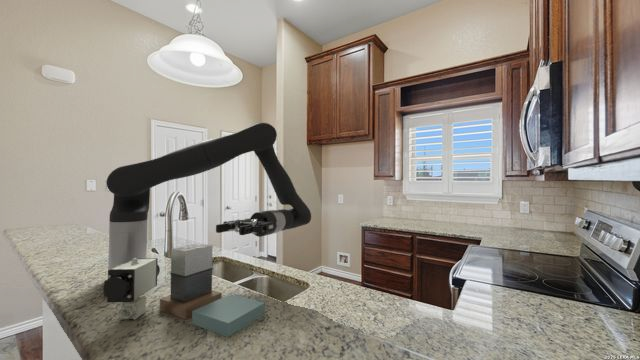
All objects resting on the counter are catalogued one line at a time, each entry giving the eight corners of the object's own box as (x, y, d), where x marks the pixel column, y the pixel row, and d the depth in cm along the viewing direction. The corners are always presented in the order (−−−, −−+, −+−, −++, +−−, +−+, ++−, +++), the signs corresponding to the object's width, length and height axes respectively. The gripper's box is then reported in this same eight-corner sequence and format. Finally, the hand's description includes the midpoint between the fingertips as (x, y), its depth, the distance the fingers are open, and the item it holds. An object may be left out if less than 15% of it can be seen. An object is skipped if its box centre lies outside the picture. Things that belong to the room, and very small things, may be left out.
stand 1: (159, 310, 59) (160, 298, 60) (195, 296, 67) (196, 286, 67) (186, 319, 55) (186, 307, 55) (221, 303, 63) (221, 292, 63)
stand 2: (191, 323, 54) (192, 311, 54) (230, 304, 62) (230, 293, 62) (228, 337, 49) (228, 323, 49) (264, 314, 58) (264, 302, 58)
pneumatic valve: (160, 304, 63) (161, 252, 63) (126, 330, 51) (128, 266, 51) (135, 304, 62) (136, 252, 63) (95, 331, 51) (97, 266, 51)
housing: (169, 299, 59) (170, 248, 60) (198, 288, 66) (199, 243, 66) (184, 303, 57) (185, 251, 57) (212, 292, 63) (213, 245, 64)
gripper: (250, 209, 89) (209, 214, 74) (286, 211, 82) (248, 216, 67) (251, 232, 88) (209, 242, 74) (286, 236, 82) (248, 246, 67)
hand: (228, 230), depth 71 cm, fingers open, 8 cm apart
